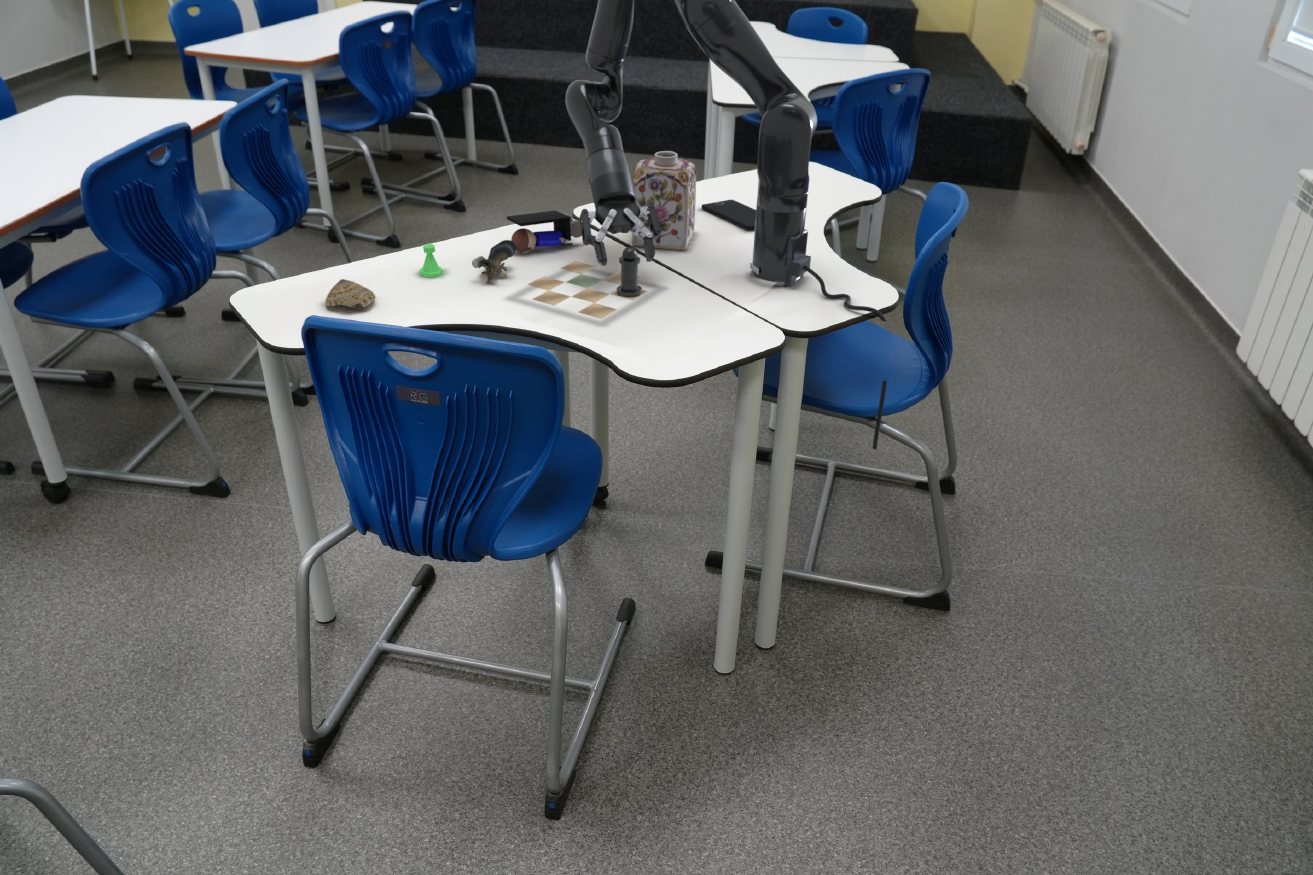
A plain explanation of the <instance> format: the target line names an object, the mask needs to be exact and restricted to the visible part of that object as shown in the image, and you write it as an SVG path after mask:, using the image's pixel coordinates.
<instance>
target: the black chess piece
mask: <svg viewBox="0 0 1313 875" xmlns="http://www.w3.org/2000/svg"><path fill="white" fill-rule="evenodd" d="M621 253H622V255H621V256H620V257H619V258H618V263H619V264H620V272H621V284H619V285H618V286H617V287H616V290H617V294H618V295H620V296H623V297H636V296H639V295H641V294H642V290H643V287H641V285H639V284H638V283H639V282H638V281H639V278H638V277H639V264H641V258H640V257H639V256H638V253H637V250H636V249H635V248H634V247H633V246H632V247H631V246H627V247H625V248H624V249H623V251H622V252H621ZM620 296H619V297H620ZM641 296H642V295H641ZM623 297H622V298H623ZM639 297H640V296H639Z"/></svg>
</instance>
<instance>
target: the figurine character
mask: <svg viewBox="0 0 1313 875" xmlns="http://www.w3.org/2000/svg"><path fill="white" fill-rule="evenodd" d="M506 220H507V221H509V222H511V223H513V224H515V225H517V226H519V227H525V228H518V229H517V230H515V231H514V232H513V234H512V235H511V238H510V241H511V240H512V242H514V243H515V246H516V247H517V248H516V252H518V253H520V254H528V253H530V252H532V251H533V250H534V249H535V247H536V248H542V247H553V246H561V247H567V246H573V245H574V243H573V242H570V241H572V238H574V239H577V238H582V233H581V225H580V220H578V219H573V217H572V216H570V215H569V214H566V213H562V212H560V211H558V210H555V209H554V210H548V211H540V212H531V213H523V214H514V215H507V216H506ZM550 223H553V230H540V231H532V230H530V229H528V228H526V227H527V226H536V225H543V224H550ZM567 241H569V242H567ZM565 242H566V243H565Z"/></svg>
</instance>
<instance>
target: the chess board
mask: <svg viewBox="0 0 1313 875" xmlns="http://www.w3.org/2000/svg"><path fill="white" fill-rule="evenodd" d="M596 267H597V266H596V265H593V264H589V263H586V262H581V261H577V260H575V261H572V262H570V263H568V264H566V265H564V266H562V267H560V270H564V271H567V272H568V271H569V272H572V273H576V274H578V275H577V276H575V277H573V278H571V279H569V280H567V281H566V283H568V284H571V285H575V286H577V287H578V286H579V287H582V288H585V289H583V290H581V291H579V292H577V293H576V294H574V295H572V296H570V295H567V294H563V293H560V292H556V291H553V289H554V288H557V287H558V286H561V285H562V284H564V283H565V281H563V280H559V279H555V278H551V277H548V276H544V275H543V276H542V277H539V278H538V279H536V280H533V281H531V282H530V283H528V284H527V285H528V286H532V287H536V288H539V289H542V290H546V292H543V293H541V294H539V295H537V296H535V297H534V298H532V300H534V301H537V302H540V303H544V304H547V305H551V306H557V305H558V304H560V303H562V302H564V301H566V300H568V299H569V298H571V297H572V298H575V299H578V300H583V301H586V302H590V303H591V304H589V305H588V306H586V307H584V308H582V309H580V310H579V311H578V313H580V314H582V315H583V314H584V315H586V316H590V317H594V318H597V319H601V320H602V319H603V318H605V317H607V316H609V315H611V314H612V313H614V312H616V311H617V310H618V308H614V307H611V306H607V305H604V304H600V303H597V302H599V301H600V300H602V299H604V298H606V297H608V296H609V295H613V296H616V297H620V298H624V299H628V300H631V301H634V300H636V299H638V298H640V297H641V296H644V295H645V294H646V293H648V292H649V290H646V289H645V290H644V289H642V294H641V295H639V296H636V297H623V296H620V295H618V294H617V289H616V290H615V291H613V292H610V293H608V292H604V291H601V290H598V289H593V288H590V287H592V286H594V285H596V284H597V283H599V282H602V281H606V282H610V283H615V284H619V285H621V271H617V272H615V273H613V274H611V275H609V276H607V277H606V278H603V279H602V278H598V277H594V276H590V275H587V274H585V273H586V272H588V271H590V270H593V269H594V268H596ZM640 278H641V277H640V276H638V279H640Z"/></svg>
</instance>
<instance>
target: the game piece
mask: <svg viewBox="0 0 1313 875" xmlns="http://www.w3.org/2000/svg"><path fill="white" fill-rule="evenodd" d="M422 249H423V253H425V254H426V256H425V259H424V262H423V265H422V267H421V268H419V274H420V276H421V277H424V278H428V279H430V278H437V277H440V276H442V275H443V274H444V271H443V268H442V267H441V266H439V264H438V262H437V260H436V258H435V255H434V253H435V252H436V246H435V244H433V243H430V242H428V243H426V244H424V245H422Z"/></svg>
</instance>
